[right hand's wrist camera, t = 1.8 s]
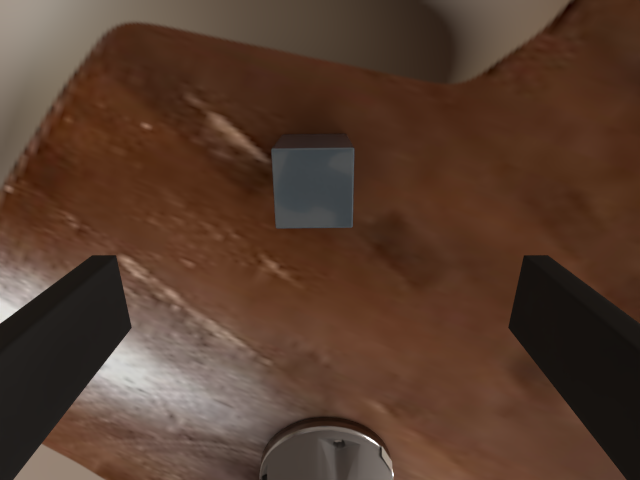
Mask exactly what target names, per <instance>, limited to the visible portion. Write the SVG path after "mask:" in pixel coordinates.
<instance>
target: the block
mask: <svg viewBox="0 0 640 480" xmlns="http://www.w3.org/2000/svg"><path fill="white" fill-rule="evenodd" d="M271 156H272V173H273V190H274V207H275V224H276V228H351V227H353V189H354V147H353V145H352V143H351V142H350V140H349V138H348V136H347V134H283V135H282V136H281V137H280V139H279V140H278V141H277V142H276V144H275V145H274V146H273V148H272V149H271Z"/></svg>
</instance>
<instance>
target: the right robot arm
mask: <svg viewBox="0 0 640 480" xmlns="http://www.w3.org/2000/svg"><path fill="white" fill-rule="evenodd" d="M131 328H132V327H131V323H130V318H129V313H128V309H127V304H126V299H125V295H124V290H123V286H122V281H121V276H120V272H119V267H118V262H117V258H116V255H92V256H91V257H89V258H88V259H87V260H85V261H84V262H83V263H81V264H80V265H79V266H77V267H76V268H75V269H73V270H72V271H71V272H69V273H68V274H67V275H65V276H64V277H63V278H61V279H60V280H59V281H57V282H56V283H54V284H53V285H52V286H50V287H49V288H48V289H46V290H45V291H44V292H42V293H41V294H40V295H38V296H37V297H36V298H34V299H33V300H32V301H30V302H29V303H28V304H26V305H25V306H24V307H22V308H21V309H20V310H18V311H17V312H15V313H14V314H13V315H11V316H10V317H9V318H7V319H6V320H5V321H3V322H2V323H1V324H0V480H13V479H14V478H15V477H16V475H17V474H18V473H19V472H20V470H21V469H22V468H23V466H24V465H25V464H26V463H27V461H28V460H29V459H30V457H31V456H32V455H33V454H34V452H35V451H36V450H37V448H38V447H39V446H40V445H41V443H42V442H43V441H44V439H45V438H46V437H47V436H48V434H49V433H50V432H51V431H52V429H53V428H54V427H55V425H56V424H57V423H58V422H59V420H60V419H61V418H62V416H63V415H64V414H65V413H66V411H67V410H68V409H69V407H70V406H71V405H72V404H73V402H74V401H75V400H76V398H77V397H78V396H79V395H80V393H81V392H82V391H83V389H84V388H85V387H86V386H87V384H88V383H89V382H90V381H91V379H92V378H93V377H94V375H95V374H96V373H97V372H98V370H99V369H100V368H101V366H102V365H103V364H104V363H105V361H106V360H107V359H108V357H109V356H110V355H111V354H112V352H113V351H114V350H115V348H116V347H117V346H118V345H119V343H120V342H121V341H122V339H123V338H124V337H125V336H126V334H127V333H128V332H129V331H130V329H131ZM508 328H509V329H510V331H511V332H512V333H513V334H514V336H515V337H516V338H517V339H518V341H519V342H520V343H521V345H522V346H523V347H524V348H525V350H526V351H527V352H528V354H529V355H530V356H531V357H532V359H533V360H534V361H535V363H536V364H537V365H538V366H539V368H540V369H541V370H542V372H543V373H544V374H545V375H546V377H547V378H548V379H549V381H550V382H551V383H552V384H553V386H554V387H555V388H556V389H557V391H558V392H559V393H560V395H561V396H562V397H563V398H564V400H565V401H566V402H567V404H568V405H569V406H570V407H571V409H572V410H573V411H574V413H575V414H576V415H577V416H578V418H579V419H580V420H581V422H582V423H583V424H584V425H585V427H586V428H587V429H588V431H589V432H590V433H591V434H592V436H593V437H594V438H595V439H596V441H597V442H598V443H599V445H600V446H601V447H602V448H603V450H604V451H605V452H606V454H607V455H608V456H609V457H610V459H611V460H612V461H613V463H614V464H615V465H616V466H617V468H618V469H619V470H620V472H621V473H622V474H623V475H624V477H625V478H626V479H627V480H640V324H639V323H638V322H637V321H635V320H634V319H633V318H631V317H630V316H629V315H627V314H626V313H625V312H623V311H622V310H620V309H619V308H618V307H616V306H615V305H614V304H612V303H611V302H610V301H608V300H607V299H606V298H604V297H603V296H602V295H600V294H599V293H598V292H596V291H595V290H594V289H592V288H591V287H590V286H588V285H587V284H586V283H584V282H583V281H581V280H580V279H579V278H577V277H576V276H575V275H573V274H572V273H571V272H569V271H568V270H567V269H565V268H564V267H563V266H561V265H560V264H559V263H557V262H556V261H555V260H553V259H552V258H551V257H549V256H548V255H524V258H523V262H522V267H521V272H520V276H519V281H518V286H517V290H516V295H515V299H514V304H513V309H512V313H511V318H510V323H509V327H508ZM259 480H393V469H392V461H391V459H390V454H389V451H388V449H387V447H386V445H385V443H384V442H383V441H382V439H381V438H380V437H379V436H378V435H377V434H375V433H374V432H373V431H371V430H370V429H368V428H367V427H365V426H363V425H361V424H359V423H356V422H353V421H350V420H346V419H340V418H329V417H324V418H312V419H307V420H303V421H300V422H297V423H294V424H292V425H290V426H288V427H286V428H284V429H283V430H281V431H280V432H278V433H277V434H276V435H275V436H274V437H273V438H272V439H271V440H270V441H269V443H268V444H267V446H266V448H265V450H264V452H263V456H262V461H261V467H260V474H259Z"/></svg>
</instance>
